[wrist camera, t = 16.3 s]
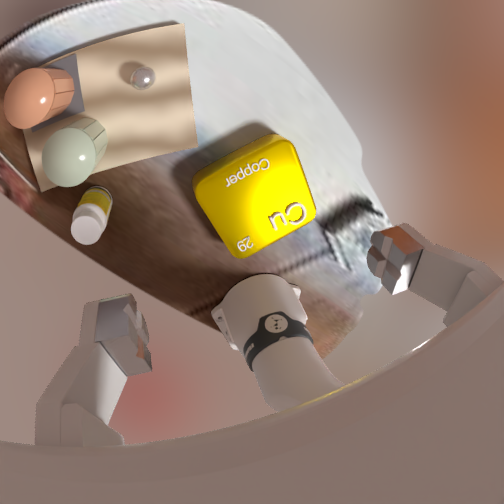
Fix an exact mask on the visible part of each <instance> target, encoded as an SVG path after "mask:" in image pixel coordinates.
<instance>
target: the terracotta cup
mask: <svg viewBox="0 0 504 504" xmlns="http://www.w3.org/2000/svg"><path fill="white" fill-rule="evenodd" d="M73 90H74V83H73V79H72V77H71V76H70V75H69V74H68V72H67V71H66V70H62V69H55V68H31V69H27V70H25V71H23V72H21V73H19V74H18V75H17V76H16V77H15V78H14V79H13V80H12V81H11V83H10V84H9V86H8V88H7V91H6V93H5V97H4V113H5V116H6V118H7V120H8V121H9V123H10V124H11V125H13V126H14V127H16V128H20V129H26V128H30V127H33V126H35V125H37V124H39V123H41V122H43V121H46V120H48V119H50V118H52V117H55V116H57V115H60V114H61V113H63V111H64V110H65V109H66V108H67V107H68V106H69V105H70V103H71V100H72V97H73V94H74V91H73Z"/></svg>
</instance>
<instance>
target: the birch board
mask: <svg viewBox="0 0 504 504" xmlns="http://www.w3.org/2000/svg"><path fill="white" fill-rule="evenodd" d="M74 54H76V56H77V65H78V72H79V79H80V86H81V92H82V98H83V104H84V109H85V111H84V112H81V113H78V114H76V115H73V116H70V117H68V118H65V119H63V120H60V121H58V122H55V123H53V124H51V125H48V126H46V127H44V128H41V129H39V130H37V131H35V132H33V133H32V130H31V127H30V128H26V129H23V132H24V137H25V141H26V144H27V148H28V152H29V155H30V159H31V162H32V165H33V169H34V172H35V175H36V178H37V181H38V184H39V187H40V190H41V192H43V191H46V190H48V189H51V188H54V187H56V186H59V185H57V184H55V183H53V182H52V181H51V180H50V179H49V178H48V177H47V175H46V174H45V172H44V170H43V166H42V151H43V148H44V145H45V143H46V142H47V140H48V139H49V138H50V137H51V136H52V135H53V134H54V133H55V132H56V131H57V130H59V129H61V128H63V127H64V126H66V125H68V124H70V123H72V122H73V121H76V120H79V119H82V118H84V117H86V118H91V119H95V120H96V121H97V120H98V122H99V123H100V124H101V125H102V126H103V127H104V128H105V129H106V134H107V138H108V144H107V147H106V151H105V154H104V155H103V157H102V158H101V160H100V161H99V163H98V164H97V166H96V167H95V169H94V170H93V171H92V172H91V174H94V173H97V172H100V171H103V170H107V169H110V168H113V167H117V166H120V165H124V164H127V163H131V162H135V161H138V160H142V159H146V158H150V157H154V156H158V155H163V154H167V153H171V152H176V151H181V150H185V149H190V148H195V147H198V142H197V134H196V127H195V119H194V111H193V103H192V95H191V87H190V78H189V69H188V59H187V49H186V39H185V27H184V23H183V24H176V25H170V26H164V27H158V28H153V29H148V30H144V31H139V32H135V33H131V34H127V35H123V36H119V37H116V38H112V39H109V40H105V41H102V42H99V43H96V44H93V45H90V46H87V47H84V48H81V49H79V50H76V51H73V52H71V53H68V54H66V55H63V56H61V57H59V58H56V59H54V60H52V61H50V62H47V63H45V64H43V65H41V66H39V67H37V68H43V67H45V66H48V65H50V64H52V63H54V62H57V61H59V60H61V59H64V58H66V57H69V56H71V55H74ZM142 66H147V67H150V68H152V69H153V70H154V72H155V74H156V79H155V82H154V84H153V85H152V86H151V87H150V88H148V89H146V90H137V89H135V88H134V87H133V86H132V85H131V82H130V78H131V75H132V73H133V72H134V70H136V69H137V68H139V67H142ZM105 129H104V130H105ZM91 174H90V175H91Z"/></svg>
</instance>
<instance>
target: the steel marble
mask: <svg viewBox="0 0 504 504" xmlns="http://www.w3.org/2000/svg"><path fill="white" fill-rule="evenodd" d="M155 79H156V74H155V72H154V70H153V69H152V68H150V67H147V66H142V67H139V68H137V69H136V70H134V72H133V73H132V75H131V78H130V82H131V85H132V86H133V87H134V88H135V89H137V90H146V89H148V88H150V87H151V86H152V85H153V84H154V82H155Z"/></svg>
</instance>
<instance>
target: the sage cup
mask: <svg viewBox="0 0 504 504" xmlns="http://www.w3.org/2000/svg"><path fill="white" fill-rule="evenodd" d="M104 129H105V128H104V127H103V126H102V125H101V124H100V123H99V122H98V120H97V121H96V120H95V119H91V118H86V117H84V118H82V119H79V120H76V121H73V122H72V123H70V124H68V125H66V126H64V127H63V128H61V129H59V130H57V131H56V132H55V133H54V134H53V135H52V136H51V137H50V138H49V139H48V140H47V142H46V143H45V145H44V148H43V151H42V166H43V170H44V172H45V174H46V175H47V177H48V178H49V179H50V180H51V181H52V182H53V183H55V184H57V185H59V186H62V187H73V186H76V185H79V184H80V183H82V182H83V181H85V180H86V179H87V178H88V176H89V175H90V174H91V172H92V171H93V170H94V169H95V167H96V166H97V164H98V163H99V161H100V160H101V158H102V157H103V155H104V154H105V151H106V147H107V144H108V138H107V134H106V129H105V130H104Z"/></svg>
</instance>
